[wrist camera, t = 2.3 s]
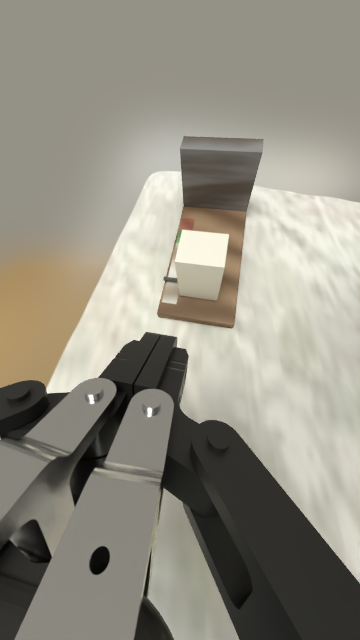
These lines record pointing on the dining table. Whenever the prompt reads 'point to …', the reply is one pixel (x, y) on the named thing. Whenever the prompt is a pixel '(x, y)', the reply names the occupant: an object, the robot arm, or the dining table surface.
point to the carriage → (200, 264)
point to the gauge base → (213, 219)
